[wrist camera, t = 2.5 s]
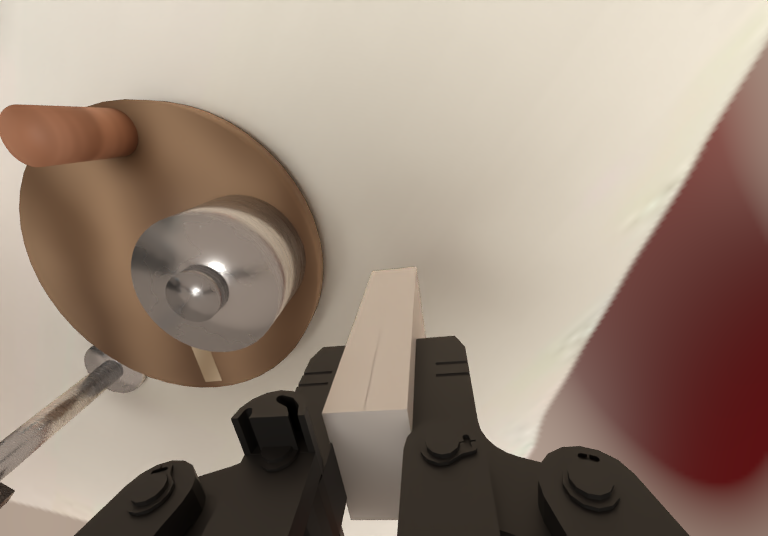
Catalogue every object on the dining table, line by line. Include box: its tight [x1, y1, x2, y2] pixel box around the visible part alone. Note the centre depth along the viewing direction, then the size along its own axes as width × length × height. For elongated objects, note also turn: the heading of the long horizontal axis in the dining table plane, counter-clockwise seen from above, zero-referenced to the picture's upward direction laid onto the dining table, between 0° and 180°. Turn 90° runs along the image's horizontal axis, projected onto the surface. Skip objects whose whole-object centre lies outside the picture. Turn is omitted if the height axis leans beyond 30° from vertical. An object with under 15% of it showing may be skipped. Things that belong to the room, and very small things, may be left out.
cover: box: [131, 195, 306, 352], centre depth 19 cm, size 7×7×6 cm
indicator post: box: [0, 346, 146, 508], centre depth 22 cm, size 4×4×13 cm
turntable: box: [0, 99, 323, 387], centre depth 21 cm, size 18×18×6 cm
